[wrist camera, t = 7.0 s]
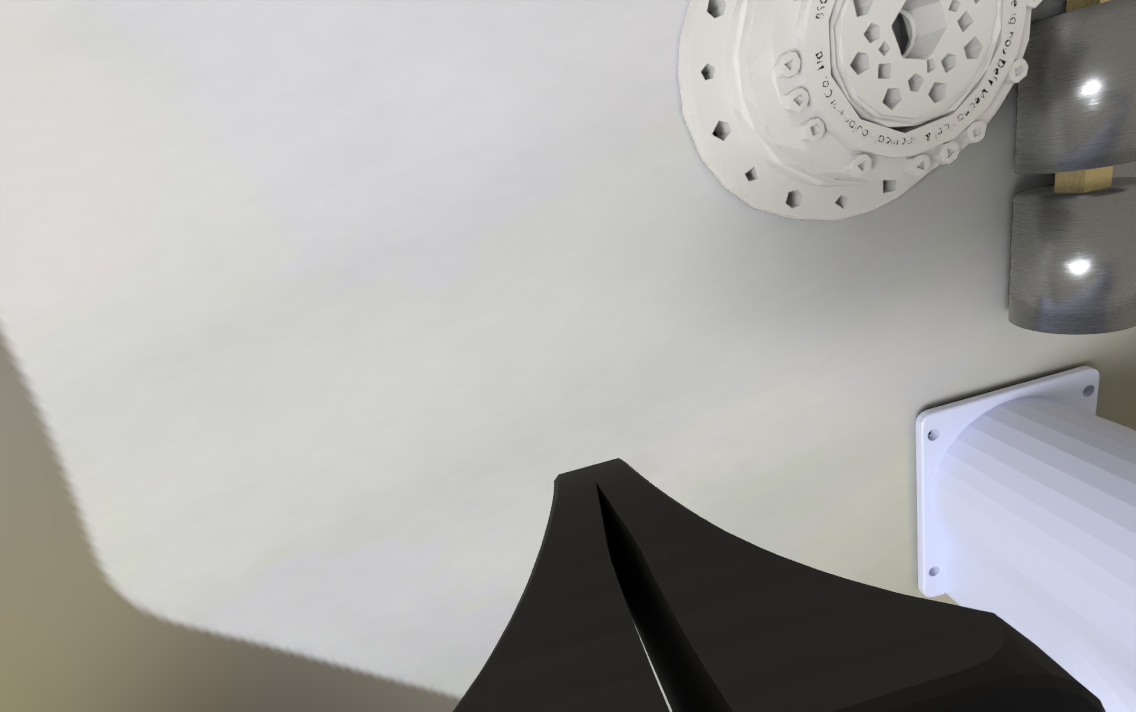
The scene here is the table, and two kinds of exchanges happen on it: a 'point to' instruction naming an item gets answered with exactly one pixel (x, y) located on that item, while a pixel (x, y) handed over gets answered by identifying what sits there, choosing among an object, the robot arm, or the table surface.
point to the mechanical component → (843, 94)
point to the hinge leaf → (1077, 173)
